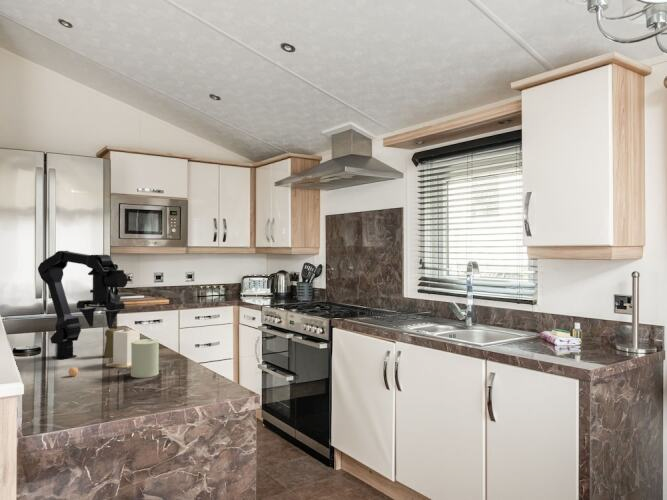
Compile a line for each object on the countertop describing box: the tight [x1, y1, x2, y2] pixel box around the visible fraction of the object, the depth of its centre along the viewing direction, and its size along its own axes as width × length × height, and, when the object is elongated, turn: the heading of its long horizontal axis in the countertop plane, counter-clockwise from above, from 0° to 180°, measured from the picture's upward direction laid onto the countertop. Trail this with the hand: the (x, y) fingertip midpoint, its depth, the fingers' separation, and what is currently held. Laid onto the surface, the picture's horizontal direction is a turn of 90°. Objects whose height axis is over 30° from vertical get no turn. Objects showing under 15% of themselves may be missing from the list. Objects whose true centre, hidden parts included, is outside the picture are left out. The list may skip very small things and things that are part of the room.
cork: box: [103, 328, 119, 359], centre depth 206 cm, size 6×6×11 cm
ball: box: [68, 366, 79, 377], centre depth 174 cm, size 3×3×3 cm
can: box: [130, 338, 160, 379], centre depth 178 cm, size 9×9×12 cm
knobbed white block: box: [112, 327, 141, 365], centre depth 192 cm, size 6×6×13 cm
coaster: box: [105, 362, 131, 369], centre depth 192 cm, size 10×10×1 cm
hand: (100, 327), depth 197 cm, fingers open, 9 cm apart
